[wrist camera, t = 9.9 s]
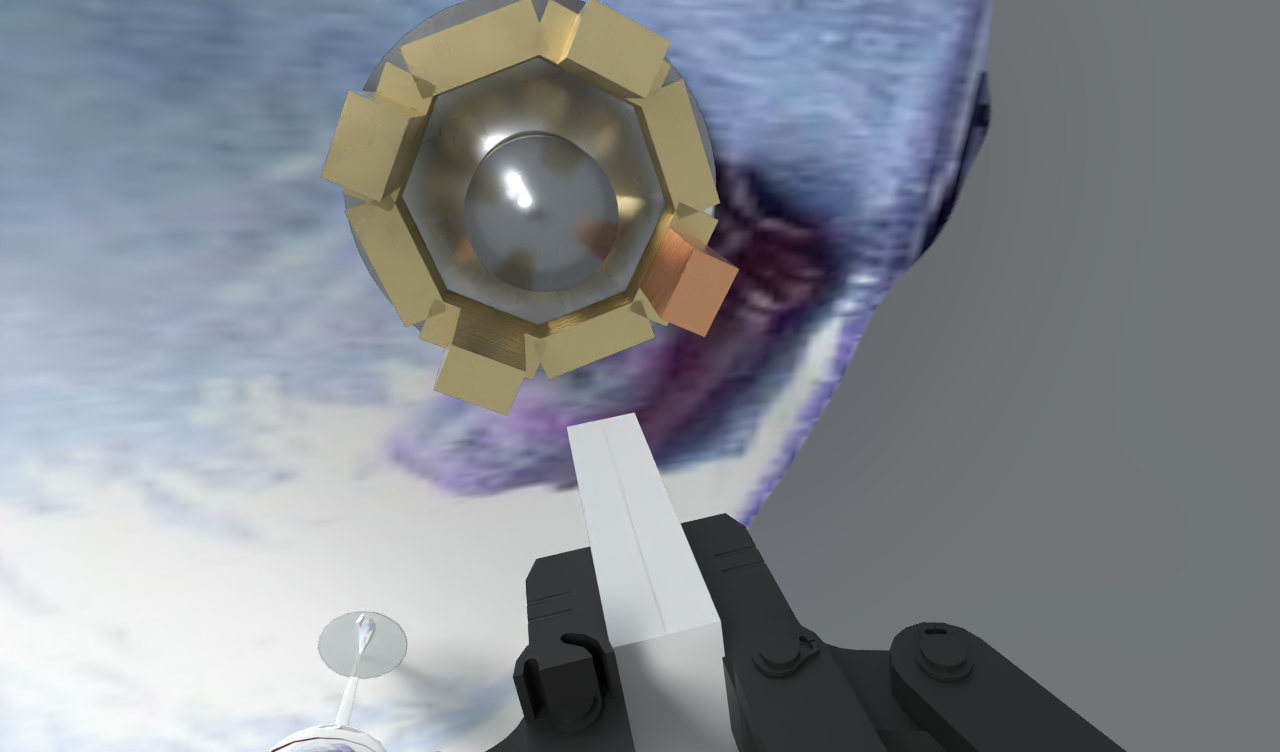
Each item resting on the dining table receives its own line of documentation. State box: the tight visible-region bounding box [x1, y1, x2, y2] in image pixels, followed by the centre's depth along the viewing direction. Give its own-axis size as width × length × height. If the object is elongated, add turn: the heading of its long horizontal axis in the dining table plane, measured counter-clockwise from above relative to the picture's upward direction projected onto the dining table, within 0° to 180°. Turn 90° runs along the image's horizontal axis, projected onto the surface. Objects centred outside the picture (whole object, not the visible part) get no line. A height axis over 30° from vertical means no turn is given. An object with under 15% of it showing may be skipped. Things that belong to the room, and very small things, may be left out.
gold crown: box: [321, 0, 739, 415], centre depth 29 cm, size 15×15×7 cm
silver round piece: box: [344, 0, 716, 370], centre depth 31 cm, size 17×17×7 cm
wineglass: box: [268, 612, 407, 752], centre depth 36 cm, size 7×7×12 cm
